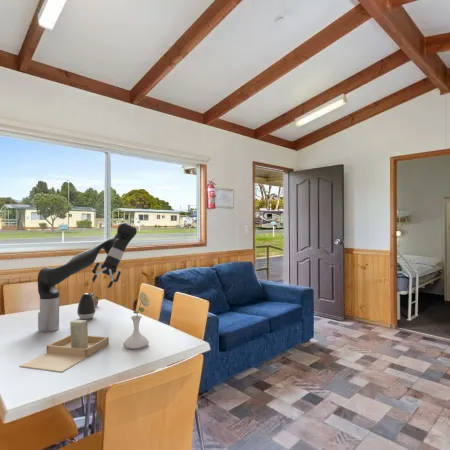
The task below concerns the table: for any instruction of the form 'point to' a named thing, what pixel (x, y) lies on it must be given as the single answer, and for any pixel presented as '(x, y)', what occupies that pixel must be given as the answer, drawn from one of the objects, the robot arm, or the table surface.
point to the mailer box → (66, 354)
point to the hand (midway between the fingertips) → (100, 285)
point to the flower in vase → (136, 338)
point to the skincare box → (79, 334)
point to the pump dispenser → (86, 306)
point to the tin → (95, 300)
